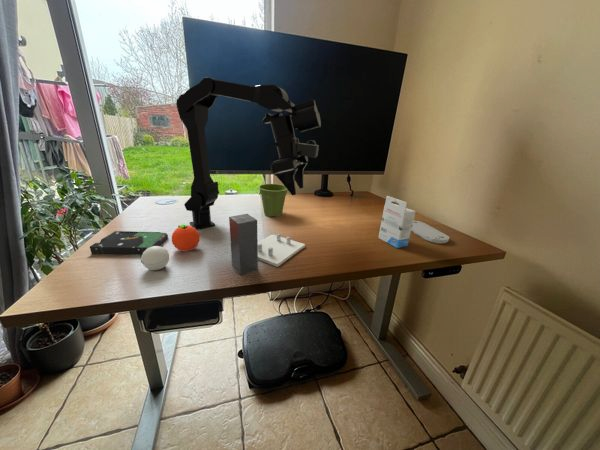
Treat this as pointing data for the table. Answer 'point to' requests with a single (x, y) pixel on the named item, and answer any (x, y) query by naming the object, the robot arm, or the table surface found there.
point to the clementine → (185, 238)
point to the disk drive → (128, 243)
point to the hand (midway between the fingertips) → (298, 191)
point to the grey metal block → (244, 243)
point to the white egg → (155, 258)
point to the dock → (277, 249)
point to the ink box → (396, 223)
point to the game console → (429, 233)
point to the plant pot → (273, 198)
